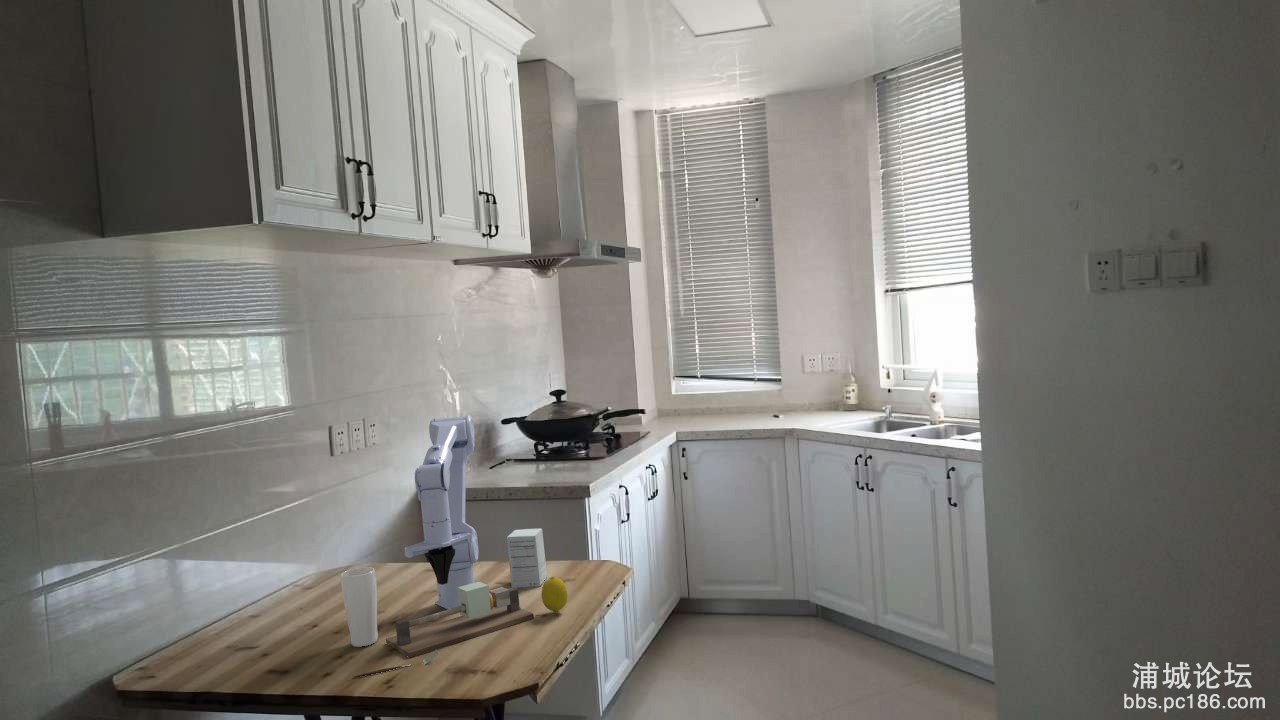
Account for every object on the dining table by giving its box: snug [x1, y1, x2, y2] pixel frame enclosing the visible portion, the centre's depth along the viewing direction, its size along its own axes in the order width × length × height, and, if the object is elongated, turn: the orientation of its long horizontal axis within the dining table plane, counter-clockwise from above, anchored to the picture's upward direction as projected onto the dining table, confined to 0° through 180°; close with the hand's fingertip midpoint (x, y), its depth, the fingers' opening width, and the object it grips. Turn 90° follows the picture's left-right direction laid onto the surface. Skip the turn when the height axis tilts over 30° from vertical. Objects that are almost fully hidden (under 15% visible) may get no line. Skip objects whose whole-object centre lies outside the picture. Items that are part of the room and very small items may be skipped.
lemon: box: [541, 575, 568, 614], centre depth 184 cm, size 6×6×8 cm
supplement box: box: [506, 528, 548, 589], centre depth 209 cm, size 7×7×13 cm
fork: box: [353, 649, 439, 678], centre depth 160 cm, size 3×16×2 cm, turn 112°
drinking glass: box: [340, 566, 379, 648], centre depth 176 cm, size 7×7×15 cm
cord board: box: [385, 586, 535, 659], centre depth 178 cm, size 12×28×6 cm, turn 128°
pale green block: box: [458, 581, 491, 619], centre depth 180 cm, size 4×5×6 cm
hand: (442, 583), depth 182 cm, fingers closed
